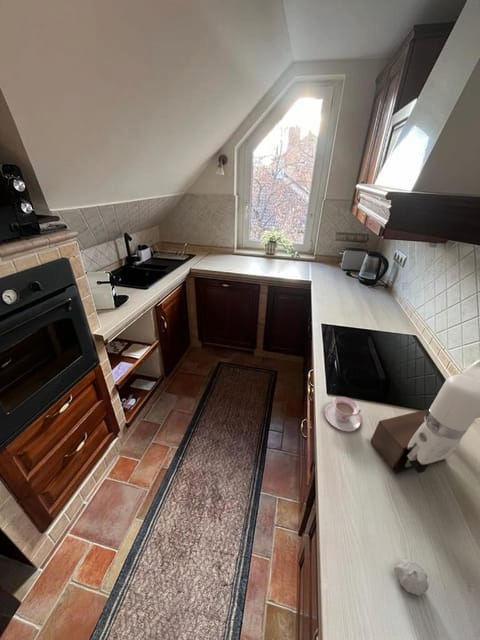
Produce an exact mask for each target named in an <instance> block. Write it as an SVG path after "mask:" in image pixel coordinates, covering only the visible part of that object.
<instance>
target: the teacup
mask: <svg viewBox="0 0 480 640" xmlns="http://www.w3.org/2000/svg"><path fill="white" fill-rule="evenodd" d="M361 412H362V410H361V409H360V407H359V404H358V403H357V402H356V401H355V400H353V399H351V398H349V397H346V396H336V397H334V398H333V399H332V402H331V403H329V404H327V405H326V406H325V408H324V413H323V414H324V417H325V419H326V420H327V422H328V423H329V425H331V426H333V427H334V428H335V429H337V430H340V431H342V432H348V433H349V432H355V431H357V430H358V429H359V428H360V426H361V422H362V421H361V417H360V414H361Z"/></svg>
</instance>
